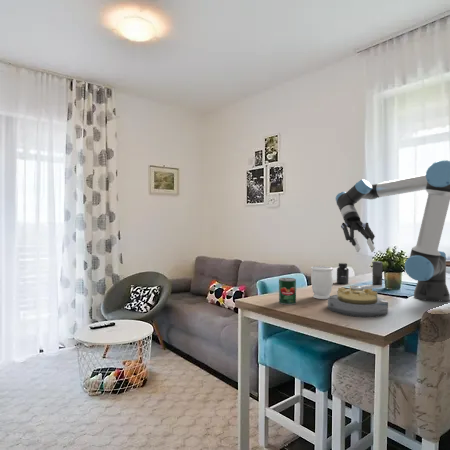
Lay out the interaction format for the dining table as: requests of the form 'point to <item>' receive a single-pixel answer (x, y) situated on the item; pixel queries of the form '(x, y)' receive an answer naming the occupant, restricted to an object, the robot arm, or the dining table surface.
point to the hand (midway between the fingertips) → (365, 250)
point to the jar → (321, 281)
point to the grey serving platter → (358, 308)
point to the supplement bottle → (342, 274)
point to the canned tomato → (287, 291)
